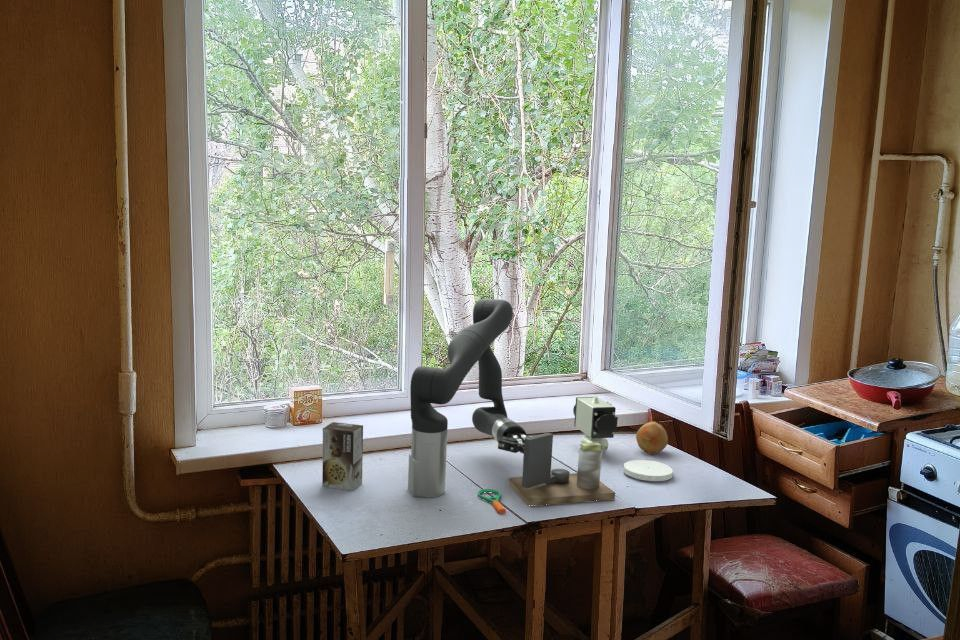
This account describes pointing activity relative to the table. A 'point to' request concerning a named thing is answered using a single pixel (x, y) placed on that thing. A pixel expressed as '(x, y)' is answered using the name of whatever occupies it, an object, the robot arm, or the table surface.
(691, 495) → the table surface
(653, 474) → the plastic lid
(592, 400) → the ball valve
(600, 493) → the base
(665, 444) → the onion
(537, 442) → the grey panel with handle
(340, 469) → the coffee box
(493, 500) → the magnifying glass
